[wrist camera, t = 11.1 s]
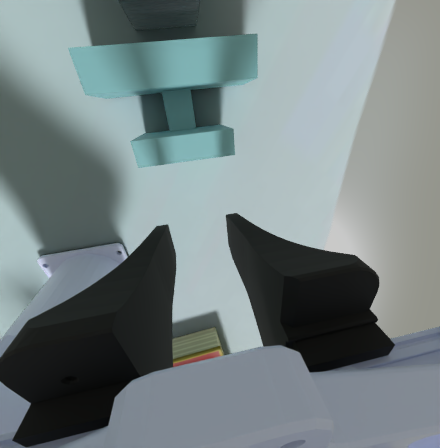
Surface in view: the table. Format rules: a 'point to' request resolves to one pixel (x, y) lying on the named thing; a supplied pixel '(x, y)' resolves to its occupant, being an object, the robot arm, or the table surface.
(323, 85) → the table surface
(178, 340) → the hardcover book
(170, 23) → the steel block
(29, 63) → the table surface
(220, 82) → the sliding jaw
